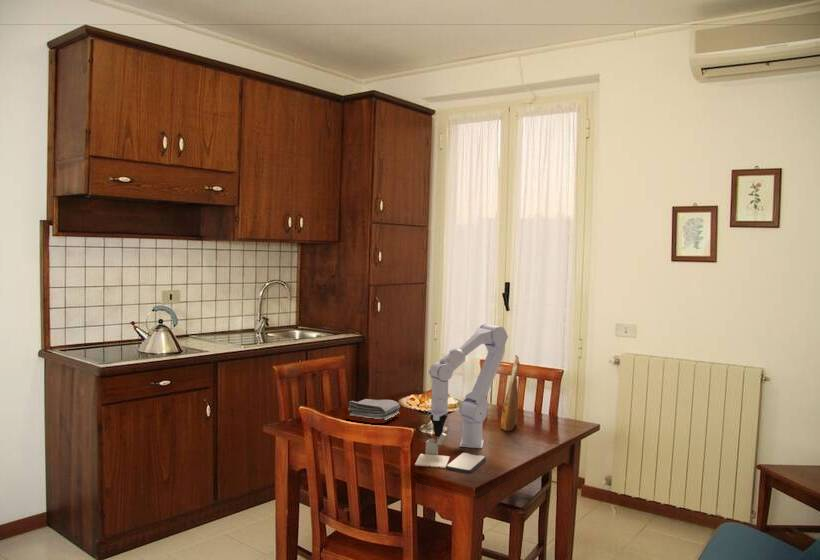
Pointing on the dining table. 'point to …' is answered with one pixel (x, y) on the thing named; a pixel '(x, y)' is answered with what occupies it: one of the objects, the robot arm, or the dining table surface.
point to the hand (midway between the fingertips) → (438, 436)
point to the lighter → (434, 445)
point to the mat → (432, 460)
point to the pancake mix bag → (511, 400)
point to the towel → (374, 408)
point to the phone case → (466, 462)
